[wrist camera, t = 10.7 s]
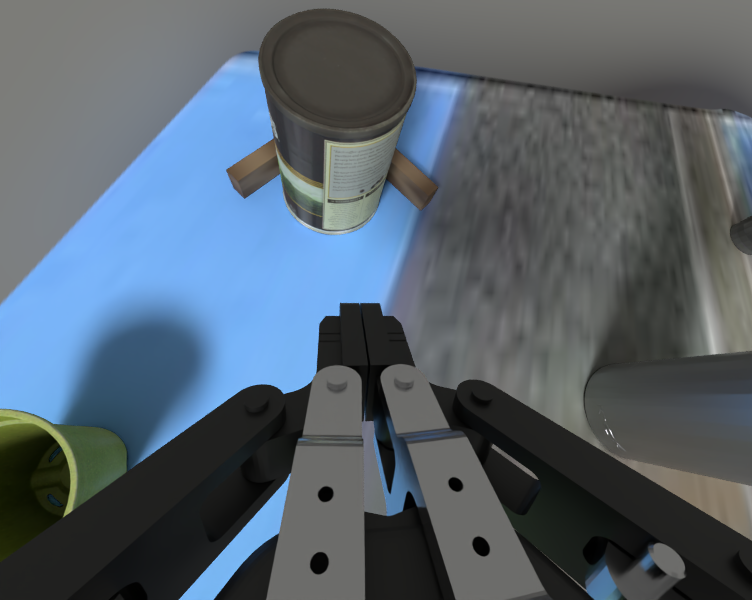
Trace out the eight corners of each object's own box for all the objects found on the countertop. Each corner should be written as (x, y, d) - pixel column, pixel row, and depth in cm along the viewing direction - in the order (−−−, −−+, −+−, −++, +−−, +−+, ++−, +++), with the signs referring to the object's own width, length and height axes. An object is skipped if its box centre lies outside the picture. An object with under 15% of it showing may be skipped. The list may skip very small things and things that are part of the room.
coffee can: (271, 223, 32) (237, 103, 19) (295, 141, 35) (280, -11, 22) (371, 246, 33) (406, 148, 20) (386, 165, 36) (425, 33, 23)
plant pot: (84, 380, 26) (-25, 374, 18) (181, 446, 26) (116, 470, 18) (-24, 494, 23) (-215, 551, 15) (85, 569, 23) (-47, 669, 15)
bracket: (430, 211, 36) (439, 196, 33) (232, 197, 32) (224, 180, 30) (423, 130, 39) (431, 110, 36) (242, 109, 35) (235, 86, 33)
